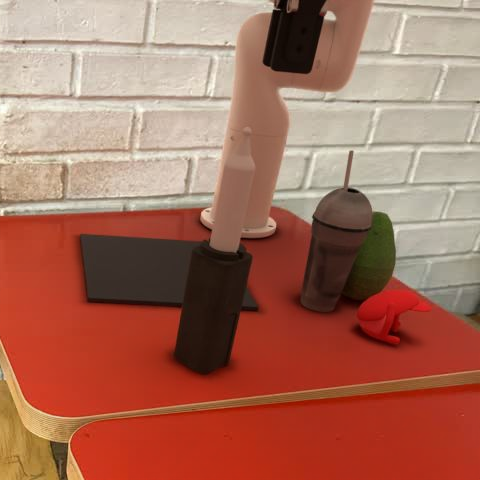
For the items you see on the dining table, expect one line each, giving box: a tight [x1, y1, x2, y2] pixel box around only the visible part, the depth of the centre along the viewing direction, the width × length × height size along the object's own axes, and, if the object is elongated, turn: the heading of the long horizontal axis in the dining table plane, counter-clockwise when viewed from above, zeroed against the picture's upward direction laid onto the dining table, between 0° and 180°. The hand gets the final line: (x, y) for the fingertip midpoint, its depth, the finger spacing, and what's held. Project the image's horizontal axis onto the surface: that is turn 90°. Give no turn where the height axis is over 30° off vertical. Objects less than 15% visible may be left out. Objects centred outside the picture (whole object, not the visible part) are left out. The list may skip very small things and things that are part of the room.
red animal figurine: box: [356, 289, 433, 345], centre depth 85 cm, size 8×6×6 cm
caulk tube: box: [173, 127, 255, 375], centre depth 71 cm, size 5×5×25 cm
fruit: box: [341, 210, 397, 301], centre depth 92 cm, size 8×8×12 cm
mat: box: [79, 233, 259, 312], centre depth 97 cm, size 22×22×1 cm
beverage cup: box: [300, 149, 373, 313], centre depth 87 cm, size 7×7×20 cm
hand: (286, 68), depth 55 cm, fingers closed
